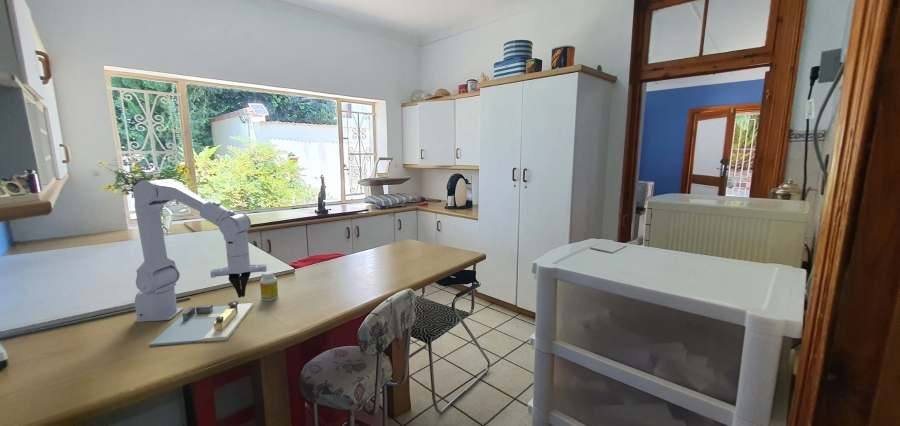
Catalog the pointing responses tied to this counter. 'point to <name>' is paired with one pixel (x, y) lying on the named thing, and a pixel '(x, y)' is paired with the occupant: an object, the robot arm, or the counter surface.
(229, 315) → the swing bar
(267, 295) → the supplement bottle
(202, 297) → the counter surface
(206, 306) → the keeper
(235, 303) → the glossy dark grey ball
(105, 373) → the counter surface
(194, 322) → the door panel
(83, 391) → the counter surface
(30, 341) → the counter surface
